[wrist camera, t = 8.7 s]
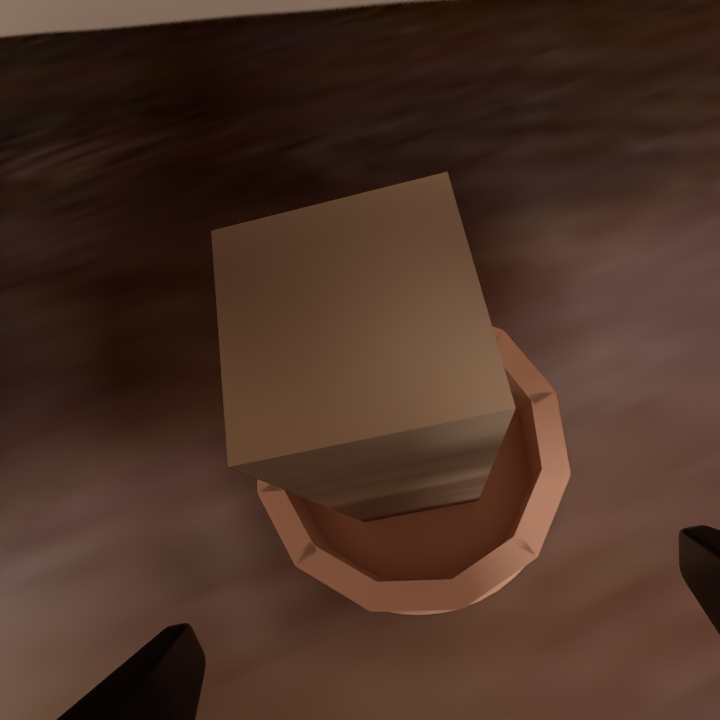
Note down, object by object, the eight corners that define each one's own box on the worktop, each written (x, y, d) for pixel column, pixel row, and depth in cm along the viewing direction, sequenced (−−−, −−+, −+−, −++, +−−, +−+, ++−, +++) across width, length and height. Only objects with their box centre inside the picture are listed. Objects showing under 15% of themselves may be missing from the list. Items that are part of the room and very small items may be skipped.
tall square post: (478, 500, 18) (515, 407, 7) (364, 522, 18) (227, 467, 7) (451, 391, 20) (447, 172, 8) (346, 413, 20) (211, 230, 9)
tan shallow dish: (619, 503, 18) (653, 490, 15) (369, 677, 18) (352, 700, 15) (445, 291, 22) (444, 247, 19) (235, 426, 22) (200, 403, 19)
